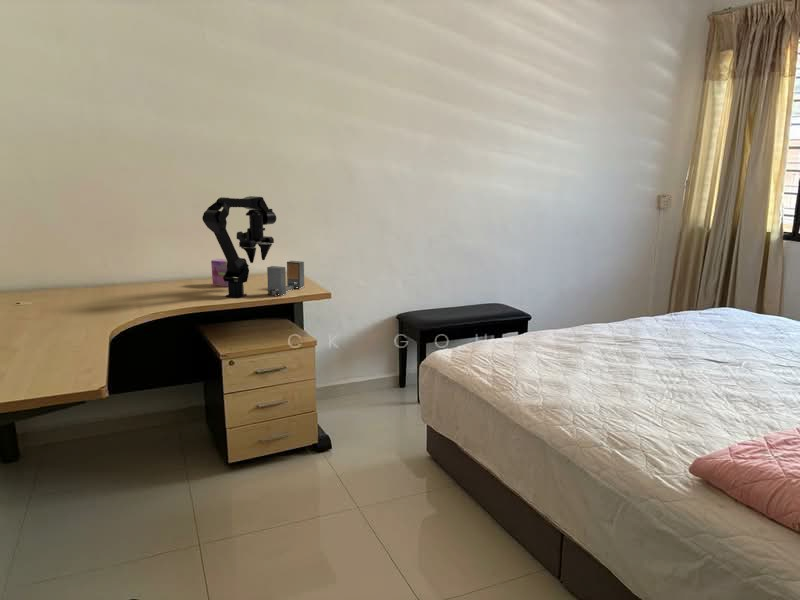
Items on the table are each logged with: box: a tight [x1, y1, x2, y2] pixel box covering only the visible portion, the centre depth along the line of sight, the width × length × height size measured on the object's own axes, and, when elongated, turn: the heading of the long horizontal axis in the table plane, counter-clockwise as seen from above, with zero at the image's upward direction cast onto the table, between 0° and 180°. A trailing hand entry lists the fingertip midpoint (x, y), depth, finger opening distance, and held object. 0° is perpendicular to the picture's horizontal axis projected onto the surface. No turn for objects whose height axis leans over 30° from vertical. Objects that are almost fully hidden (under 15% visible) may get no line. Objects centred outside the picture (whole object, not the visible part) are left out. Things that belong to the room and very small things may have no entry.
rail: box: [271, 282, 298, 296], centre depth 266 cm, size 24×2×2 cm, turn 161°
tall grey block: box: [266, 265, 287, 296], centre depth 256 cm, size 4×6×12 cm
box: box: [210, 258, 237, 287], centre depth 274 cm, size 10×6×12 cm, turn 73°
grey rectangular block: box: [286, 260, 305, 289], centre depth 271 cm, size 4×6×12 cm
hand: (257, 261), depth 263 cm, fingers open, 9 cm apart
